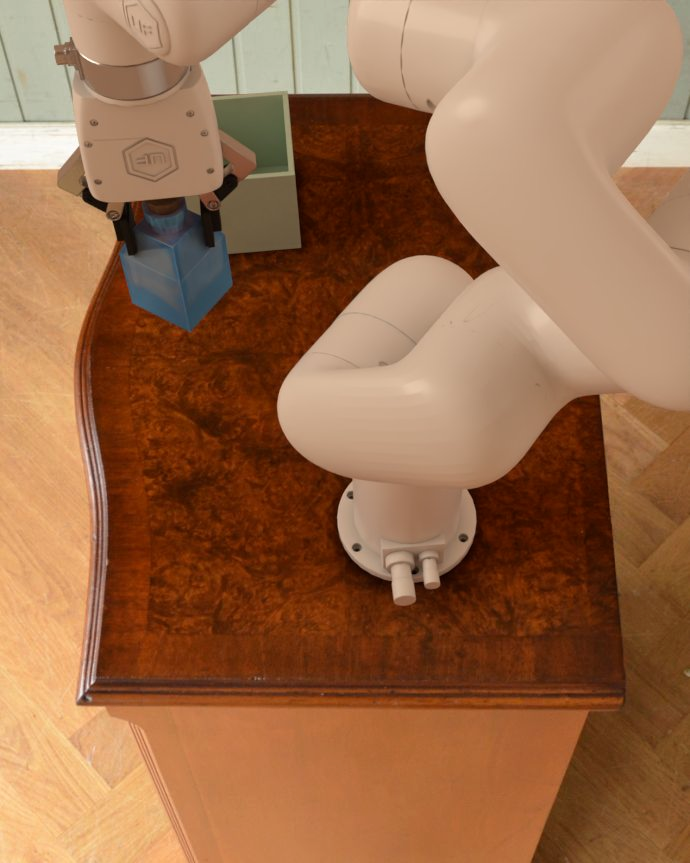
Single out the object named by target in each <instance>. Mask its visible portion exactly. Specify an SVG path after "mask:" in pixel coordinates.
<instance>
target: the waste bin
mask: <svg viewBox="0 0 690 863" xmlns="http://www.w3.org/2000/svg"><path fill="white" fill-rule="evenodd" d="M211 97H212V101H213V105H214V109H215V114H216V118H217V123H218V128H219V129H220V130H222V131H223V132H225V133H226V134H228V135H229V136H231V137H232V138H234V139H235V140H237V141H238V142H240V143H241V144H243V145H244V146H246V147H247V148H248V149H250V150H251V151H253V152H254V153H255V155H256V163H257V167H256V169H255V170H254V171H253V172H252V173H250V174H249V175H248V176H247V177H246V178H245V179H243V180H241V181H240V182H238V186H237V187H236V188H235V189H234V190H233V191H232V192H231V193H230V194H229V195H228V196H227V197H226V198H225V199H224V200H223V201H222V202H221V207H220V209H219V210H220V216H221V225H222V231H221V232H222V233H223V234H225V238H226V244H227V251H228V255H234V254H246V253H257V252H268V251H269V252H270V251H281V250H293V249H295V250H296V249H301V248H302V240H301V228H300V217H299V216H300V215H299V206H298V205H299V204H298V192H297V183H296V182H297V181H296V169H295V160H294V159H295V158H294V147H293V136H292V124H291V112H290V102H289V92H288V90H280V91H279V90H277V91H267V92H266V91H265V92H255V93H241V94H228V95H216V96H211ZM226 164H230V162H229V161H227V160H226V159H224V158H223V166H224V165H226ZM184 197H185V201H186V206H187V209H188V210H190V211H192V212H194V213H196V214H198V215H201V213H200V198H199V197H198V195H192V196H184Z"/></svg>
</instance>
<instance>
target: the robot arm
mask: <svg viewBox="0 0 690 863" xmlns="http://www.w3.org/2000/svg"><path fill="white" fill-rule="evenodd" d="M275 2H277V0H62V5H63V8H64V12H65V15H66V19H67V23H68V27H69V30H70V34H71V36H69V41H65V42H64V44H63V43H62V44H54V45H53V53H54V54H53V55H54V59H55V64H56V65H57V66H66V65H67V66H68V67H73V68H74V69H75V70H74V73H73V79H72V90H71V91H72V92H71V93H72V94H71V95H72V108H73V117H74V123H75V129H76V135H77V142H78V146H77V148H76V149H75V150H74V151H73V152H72V154H71V155H70V156H69V157H68V158H67V160H66V161H65V162H64V163H63V165H62V166H61V167H60V168H59V169H58V171H57V174H56V175H57V178H56V185H57V188H59V189H60V190H62V191H65V192H67V193H69V194H71V195H72V196H75V197H80V198H81V200H82V201H83V202H84V203H86V204H87V205H89V206H92V207H93V208H96V209H97V210H99V211H101V212H103V213H104V214H105V217H106V219H107V220H109V221H111V222H112V225H113V230H114V233H115V236H116V240H117V242H124V244H126V248H127V252H128V256H133V255H135V254H136V253H137V248H136V242H135V236H134V230H133V228H134V227H135V226H136V225H137V223H136V219H135V215H134V211H133V207H132V206H133V205H132V203H133V202H140V201H142V202H143V200H154V199H164V198H173V197H183V196H192V195H198V197H199V198H200V213H201V220H202V225H203V231H204V237H205V243H206V246H209V248H212V247H215V238H214V232H218V231H222V225H221V216H220V210H219V209H220V207H221V202H222V201H223V200H224V199H225V198H226V197H227V196H228V195H229V194H230V193H231V192H232V191H233V190H234V189H235V188H236V187H237V186H238V182H240V181H241V180H243V179H245V178H246V177H247V176H248V175H249V174H250V173H252V172H253V171H254V170H255V169H256V167H257V163H256V155H255V153H254V152H253V151H251V150H250V149H248V148H247V147H246V146H244V145H243V144H241V143H240V142H238V141H237V140H235V139H234V138H232V137H231V136H229V135H228V134H226V133H225V132H223V131H222V130H220V129H219V128H218V123H217V118H216V114H215V109H214V105H213V101H212V97H213V96H212V93H211V90H210V87H209V84H208V81H207V78H206V75H205V72H204V70H203V67H202V65H201V62H204V61H206V60H208V58H210V57H212V56H213V55H214V54H216V53H217V52H218V51H219V50H220V49H221V48H222V47H224V46H225V45H226V44H227V43H228V42H230V41H231V40H232V39H233V38H234V37H235V36H237V35H238V34H239V33H240V32H241V31H242V30H244V29H245V28H246V27H247V26H249V25H250V23H251V22H253V21H255V19H256V18H258V17H259V16H260V15H262V13H264V12H265V11H266V10H267V9H268V8H270V7H271V6H272V5H273V4H274V3H275ZM348 6H349V7H348V13H347V21H346V45H347V46H346V47H347V54H348V59H349V63H350V65H351V69H352V71H353V74H354V76H355V78H356V80H357V82H358V83H359V84H360V86H361V87H362V88H363V89H364V90H365V91H366V92H367V93H368V94H369V95H370V96H372V97H373V98H375V99H377V100H380V101H381V102H384V103H386V104H387V103H388V104H392V105H396V106H399V107H404V108H407V109H412V110H415V111H419V112H422V113H426V114H432V115H431V117H430V119H429V122H428V125H427V128H426V132H425V141H424V150H425V157H426V164H427V167H428V170H429V173H430V175H431V178H432V180H433V182H434V185H435V187H436V189H437V191H438V192H439V194H440V196H441V198H442V199H443V200H444V202H445V204H446V205H447V206H448V207H449V209H450V211H451V212H452V213H453V214H454V216H455V217H456V218H457V220H458V221H459V223H460V224H461V225H462V226H463V227H464V228H465V230H466V231H467V232H468V233H469V234H470V236H472V238H473V239H474V240H475V241H476V243H478V244H479V246H481V247H482V248H483V249H484V251H485V252H486V253H487V254H488V255H489V256H490V257H491V259H493V260H494V261H495V262H496V263H497V265H498V266H495V267H493V268H490V269H488V270H486V271H485V272H483V273H481V274H480V275H479V276H478V277H476V278H475V279H474V278H473V277H472V276H471V275H470V274H469V273H468V272H467V271H466V270H464V269H463V268H462V267H461V266H459V265H458V264H456V263H454V262H453V261H451V260H448V259H445V258H444V257H440V256H435V255H427V254H421V255H413V256H409V257H405V258H402V259H400V260H397V261H395V262H394V263H392V264H390V265H389V266H388V267H386V268H385V269H383V270H382V271H380V272H379V273H378V274H377V275H376V276H374V277H373V278H372V279H371V280H370V281H369V282H368V283H367V284H366V285H365V286H364V287H363V289H361V290H360V292H359V293H358V294H357V295H356V296H355V297H353V299H352V300H351V301H350V303H349V304H348V305H347V306H346V307H345V308H344V309H343V311H341V313H340V314H339V315H338V316H337V317H336V318H335V319H334V321H333V322H332V324H331V325H330V326H329V327H328V328H327V329H326V330H325V332H324V333H323V334H321V336H320V337H318V339H317V340H316V341H315V342H314V344H312V346H311V347H310V348H309V349H308V350H307V351H306V352H305V353H304V354H303V355H302V356H301V358H300V359H299V360H298V362H297V363H296V364H295V365H294V366H293V367H292V368H291V370H290V371H289V373H288V374H287V375H286V377H285V378H284V380H283V382H282V383H281V386H280V389H279V393H278V395H277V402H276V412H277V419H278V423H279V425H280V428H281V431H282V433H283V435H284V436H285V437H286V440H287V441H288V442H289V444H290V445H291V446H292V448H294V450H296V451H297V453H299V454H300V455H301V456H302V457H304V458H305V459H306V460H307V461H309V462H310V463H312V464H314V465H315V466H318V467H319V468H321V469H323V470H325V471H327V472H330V473H333V474H335V475H339V476H341V477H345V478H349V479H352V481H351V482H349V484H348V485H347V487H346V488H345V490H344V492H343V493H342V496H341V498H340V500H339V504H338V508H337V516H336V519H337V520H336V521H337V522H336V523H337V531H338V536H339V540H340V542H341V544H342V547H343V548H344V551H345V552H346V553H347V555H348V556H349V558H350V559H351V560H352V561H353V562H354V563H355V564H356V565H358V567H359V568H361V569H362V570H364V571H366V572H367V573H369V574H370V575H371V576H373V577H377V578H379V579H382V580H384V581H388V582H391V590H392V599H393V604H394V605H395V606H399V607H406V606H410V605H413V604H414V603H416V601H417V596H416V587H415V584H416V583H423V586H424V588H425V589H426V590H436V589H438V588H439V587H441V580H440V579H441V578H440V577H441V576H443V575H445V574H446V573H448V572H450V571H451V570H452V569H454V568H456V566H457V565H459V564H460V563H461V562H462V560H463V559H464V558H465V557H466V555H467V554H468V552H469V550H471V549H470V548H471V546H472V545H473V542H474V539H475V535H476V528H477V510H476V506H475V504H474V499H473V498H472V495H471V494H470V492H469V490H472V489H477V488H481V487H483V486H487V485H489V484H492V483H493V482H496V481H497V480H499V479H501V478H502V477H504V476H506V475H507V474H508V473H509V472H510V471H512V470H513V468H515V467H516V466H517V464H519V463H520V461H521V460H522V459H523V458H524V457H525V456H526V454H527V453H528V452H529V450H530V449H531V447H532V446H533V445H534V443H535V442H536V441H537V439H538V438H539V437H540V435H541V434H542V432H543V431H544V430H545V429H546V427H547V426H548V425H549V423H550V422H551V421H552V420H553V418H554V417H555V415H557V413H558V412H559V411H560V410H561V409H563V408H564V407H565V406H566V405H567V404H569V403H570V402H571V401H573V400H576V399H578V398H582V397H586V396H587V397H588V396H597V395H612V394H613V395H614V394H615V395H616V394H627V393H628V394H629V395H631V396H632V397H634V398H636V399H637V400H640V401H642V402H644V403H646V404H648V405H651V406H653V407H655V408H661V409H665V410H667V411H672V412H684V413H685V412H689V413H690V167H689V168H688V169H687V170H686V171H685V172H684V173H683V174H682V175H681V177H680V178H679V179H678V181H677V182H676V183H675V184H674V186H673V187H672V188H671V190H670V191H669V192H668V193H667V195H666V196H665V197H664V198H663V199H662V201H661V202H660V203H659V204H658V205H657V207H656V208H654V210H653V211H652V213H650V215H649V216H648V217H647V219H645V218H644V217H643V216H642V215H641V214H640V213H639V212H638V210H637V209H636V208H635V207H634V206H633V205H632V204H631V202H630V201H629V200H628V199H627V197H626V196H625V195H624V193H622V191H621V190H620V189H619V187H618V186H617V185H616V183H615V181H614V180H613V177H614V176H615V175H616V174H617V173H618V171H619V170H620V169H621V168H622V166H623V165H624V164H625V163H626V162H627V160H628V159H629V158H630V156H631V155H632V154H633V153H634V152H635V151H636V149H637V148H638V147H639V145H640V144H641V143H642V141H643V140H644V139H645V138H646V137H647V136H648V135H649V133H650V132H651V130H652V129H653V127H654V126H655V124H656V123H657V121H658V120H659V118H660V117H661V115H662V114H663V113H664V111H665V109H666V108H667V105H668V104H669V102H670V99H671V98H672V96H673V93H674V91H675V89H676V86H677V83H678V80H679V77H680V74H681V70H682V65H683V56H684V43H683V42H684V40H683V39H684V38H683V34H682V33H683V32H682V29H681V24H680V22H679V19H678V18H677V15H676V13H675V11H674V9H672V7H671V6H670V4H669V3H668V2H667V0H349V5H348ZM223 158H224V159H226V160H227V161H229V162H230V164H226V165H224V166H223Z"/></svg>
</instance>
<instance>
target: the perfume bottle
mask: <svg viewBox="0 0 690 863" xmlns="http://www.w3.org/2000/svg"><path fill="white" fill-rule="evenodd" d="M141 207H142V212H143V218H142V219H141V220H140V221H139V222H138V223H136V226H135V227H134V228H133V230H134V236H135V242H136V248H137V253H136V254H135V255H133V256H128V252H127V248H126V244H125V243H124V244H123V246H122V247H121V250H120V251H119V254H118V255H119V257H120V261H121V265H122V270H123V273H124V277H125V281H126V285H127V288H128V292H129V295H130V298H131V304H133V305H135V306H137V307H139V308H141V309H143V310H145V311H146V312H149V313H151V314H153V315H155V316H156V317H159V318H161V319H163V320H165V321H166V322H168V323H171V324H172V325H175V326H177V327H179V328H180V329H183V330H185V331H186V332H189V333H191V332H192V331H193V330H194V329H195V328H196V327H197V325H198V324H199V323H200V322H201V321H202V320H203V319H204V318H205V317H206V315H208V314H209V312H210V311H211V310H212V309H213V308H214V306H216V304H217V303H218V302H219V301H220V300H221V299H222V298H223V297H224V296H225V294H226V293H228V291H229V290H230V289H231V288H232V286H233V285H234V284H233V277H232V270H231V265H230V259H229V254H228V251H227V244H226V238H225V234H223V233H222V232H221V231H218V232H214V238H215V247H212V248H209V246H206V243H205V237H204V231H203V225H202V220H201V215H198V214H196V213H194V212H192V211H190V210H188V209H187V206H186V201H185V197H184V196H183V197H173V198H164V199H154V200H143V201H142V203H141Z"/></svg>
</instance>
